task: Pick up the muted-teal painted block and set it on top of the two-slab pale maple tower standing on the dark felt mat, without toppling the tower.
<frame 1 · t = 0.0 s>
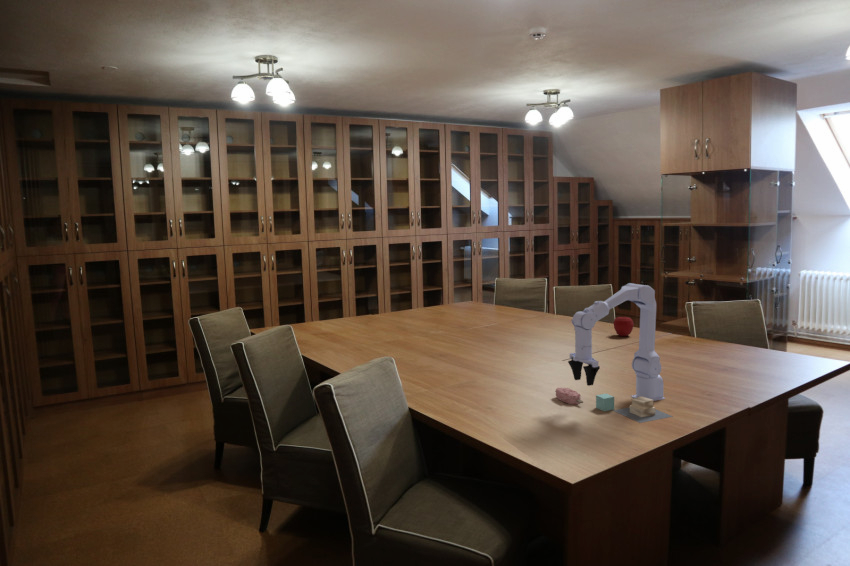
hand: (583, 382, 212), 10 cm above the table, fingers open, 7 cm apart
tower mid: (642, 406, 206), point 3 cm above the table, touching tower base
tower base: (642, 413, 206), resting on felt mat, touching tower mid
felt mat: (642, 414, 206), on the table
teal block: (605, 409, 213), on the table
ice cream bar: (570, 402, 223), on the table
apple: (623, 336, 333), on the table
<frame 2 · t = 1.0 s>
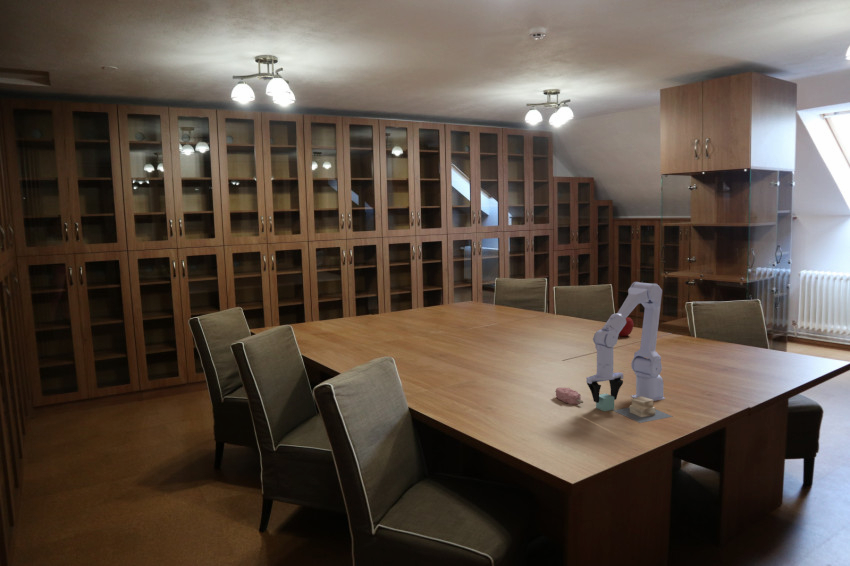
hand: (604, 400, 212), 3 cm above the table, fingers open, 7 cm apart
nothing on the table moved.
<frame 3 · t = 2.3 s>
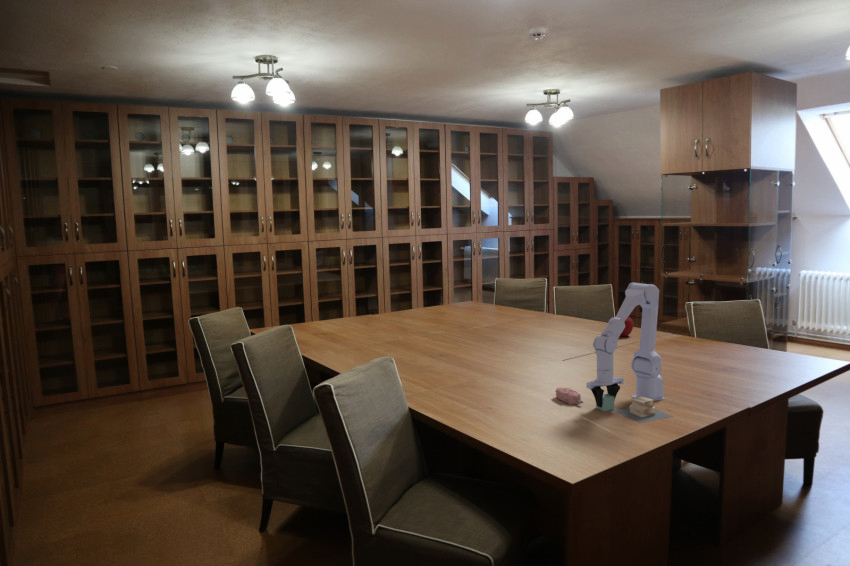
hand: (605, 405, 213), 1 cm above the table, fingers closed on teal block, 4 cm apart
teal block: (605, 409, 213), on the table, touching gripper
everything else where it was.
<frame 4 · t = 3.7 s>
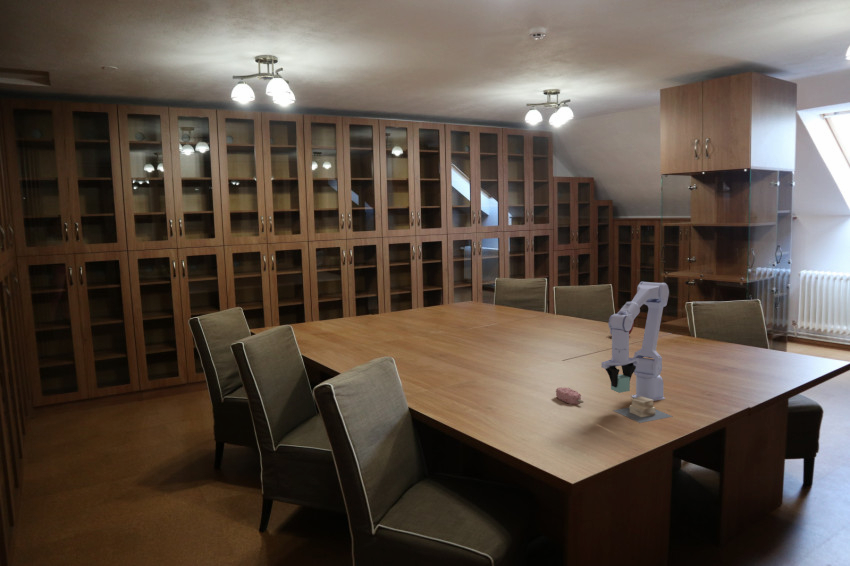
hand: (620, 385, 209), 9 cm above the table, fingers closed on teal block, 4 cm apart
teal block: (620, 390, 209), point 8 cm above the table, touching gripper
everything else where it was.
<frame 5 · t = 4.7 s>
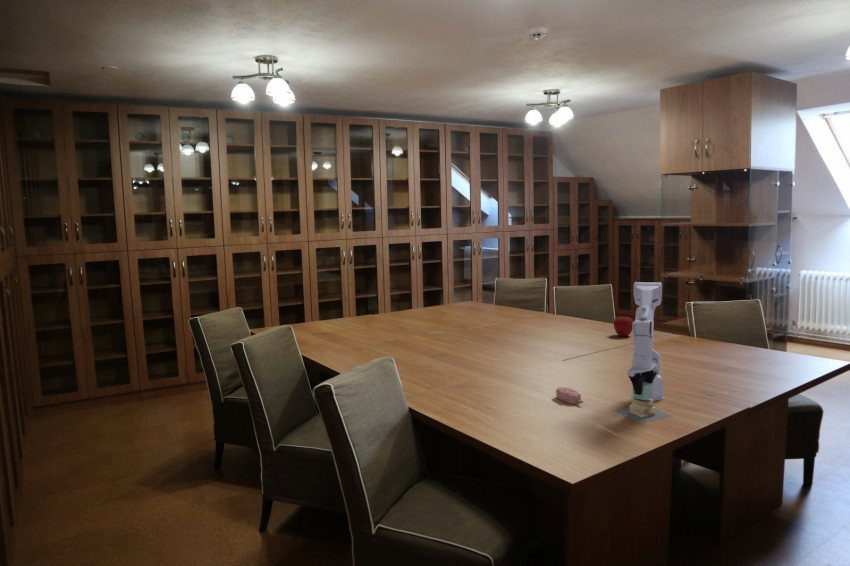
hand: (642, 392, 205), 8 cm above the table, fingers closed on teal block, 4 cm apart
teal block: (642, 397, 206), point 6 cm above the table, touching gripper
everything else where it was.
when the fingers open (8 cm above the table, at t = 5.4 s): teal block stays where it is, resting on tower mid.
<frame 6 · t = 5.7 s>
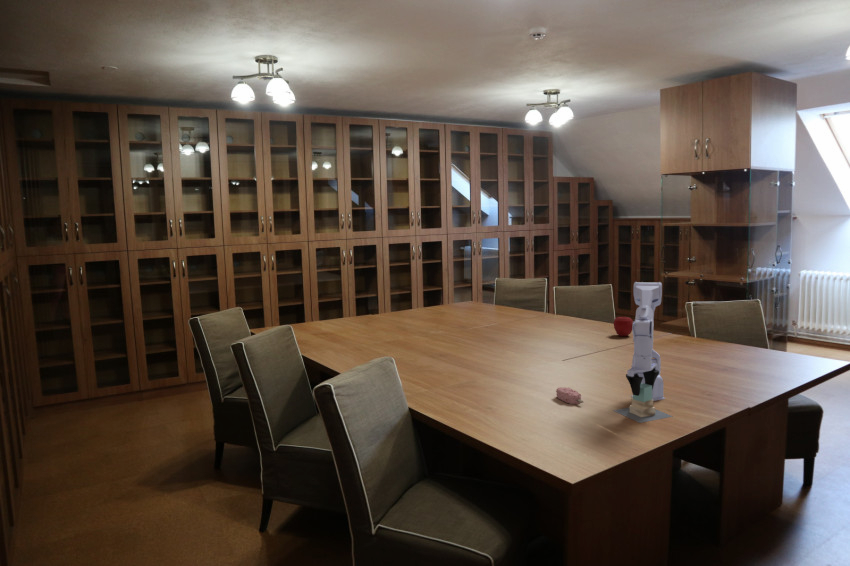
hand: (642, 392, 205), 8 cm above the table, fingers open, 7 cm apart
tower mid: (642, 406, 206), point 3 cm above the table, touching teal block, tower base
teal block: (642, 399, 206), point 5 cm above the table, touching tower mid
everything else where it was.
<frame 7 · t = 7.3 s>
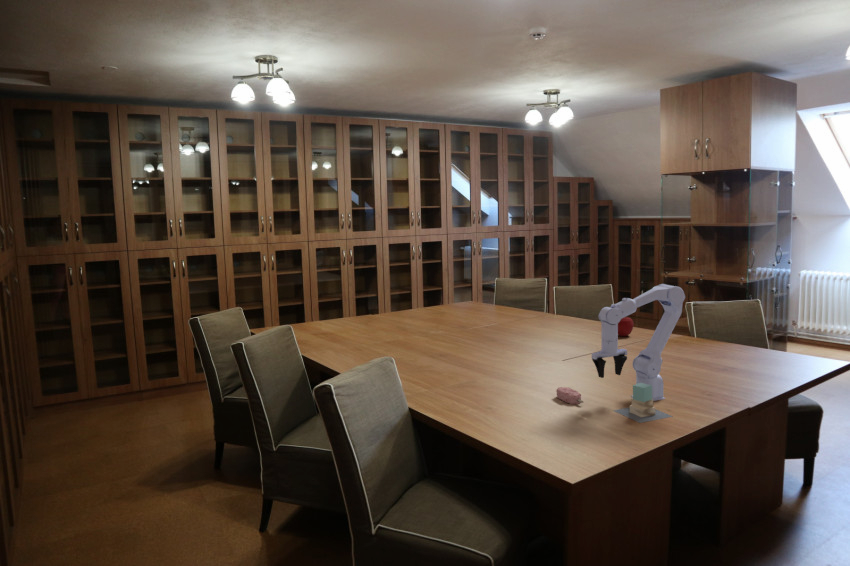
hand: (609, 375, 219), 10 cm above the table, fingers open, 7 cm apart
nothing on the table moved.
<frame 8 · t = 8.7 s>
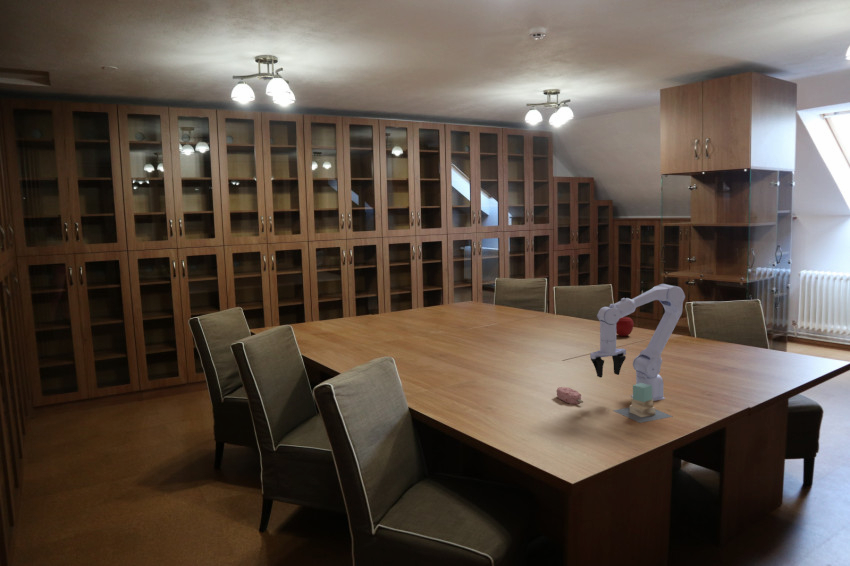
hand: (608, 375, 219), 10 cm above the table, fingers open, 7 cm apart
nothing on the table moved.
at the end: teal block 0.1 cm off-centre on the tower base, point 5.0 cm above the tower base's base; tower mid tilted 0°; teal block tilted 0° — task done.
